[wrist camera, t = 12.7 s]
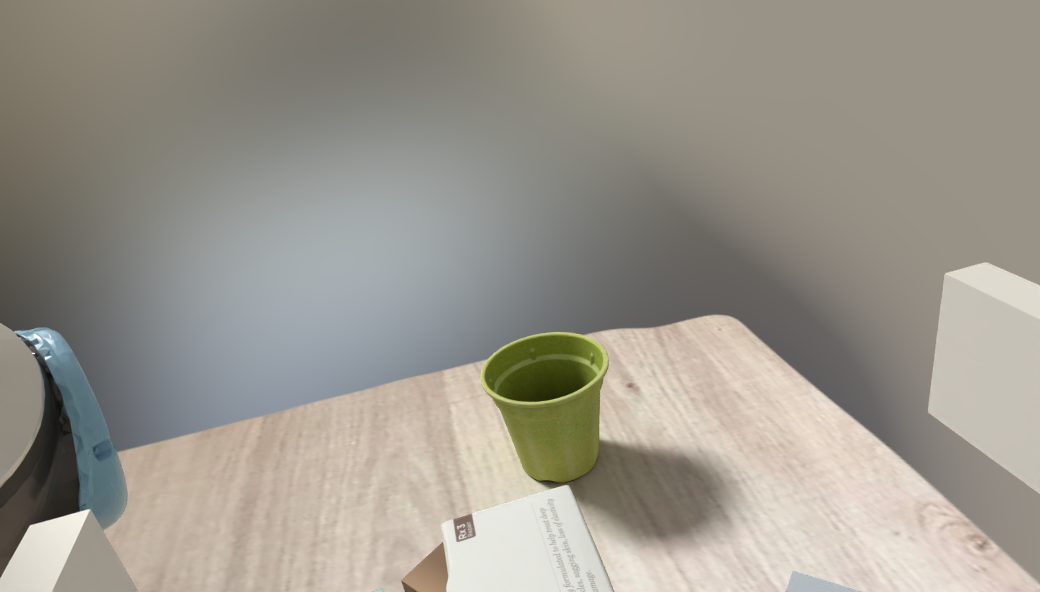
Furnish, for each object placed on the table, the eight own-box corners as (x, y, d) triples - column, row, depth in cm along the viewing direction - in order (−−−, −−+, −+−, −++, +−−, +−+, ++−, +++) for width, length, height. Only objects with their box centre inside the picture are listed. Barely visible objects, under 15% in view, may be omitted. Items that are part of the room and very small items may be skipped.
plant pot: (646, 461, 52) (634, 364, 49) (539, 520, 49) (518, 420, 45) (577, 407, 60) (563, 319, 56) (481, 454, 56) (459, 364, 53)
